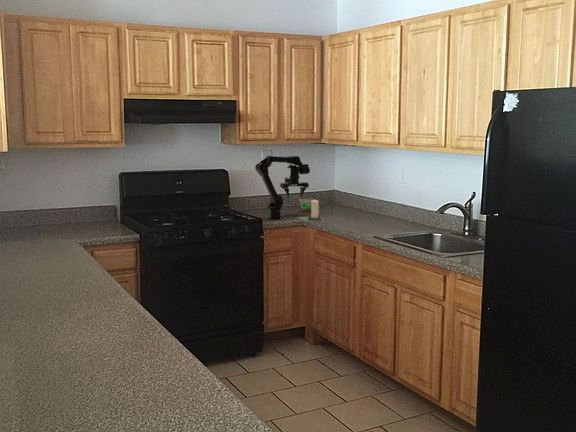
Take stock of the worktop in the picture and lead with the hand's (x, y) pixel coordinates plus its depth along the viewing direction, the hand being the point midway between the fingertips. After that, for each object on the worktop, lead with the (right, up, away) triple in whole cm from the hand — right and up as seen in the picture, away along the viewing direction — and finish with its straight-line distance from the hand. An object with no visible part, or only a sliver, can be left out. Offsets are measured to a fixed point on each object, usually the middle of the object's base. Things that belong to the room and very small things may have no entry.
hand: (294, 197), depth 442 cm
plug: (+13, -14, -11) cm, 22 cm away
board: (+11, -15, -9) cm, 20 cm away
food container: (+9, -10, +20) cm, 24 cm away
